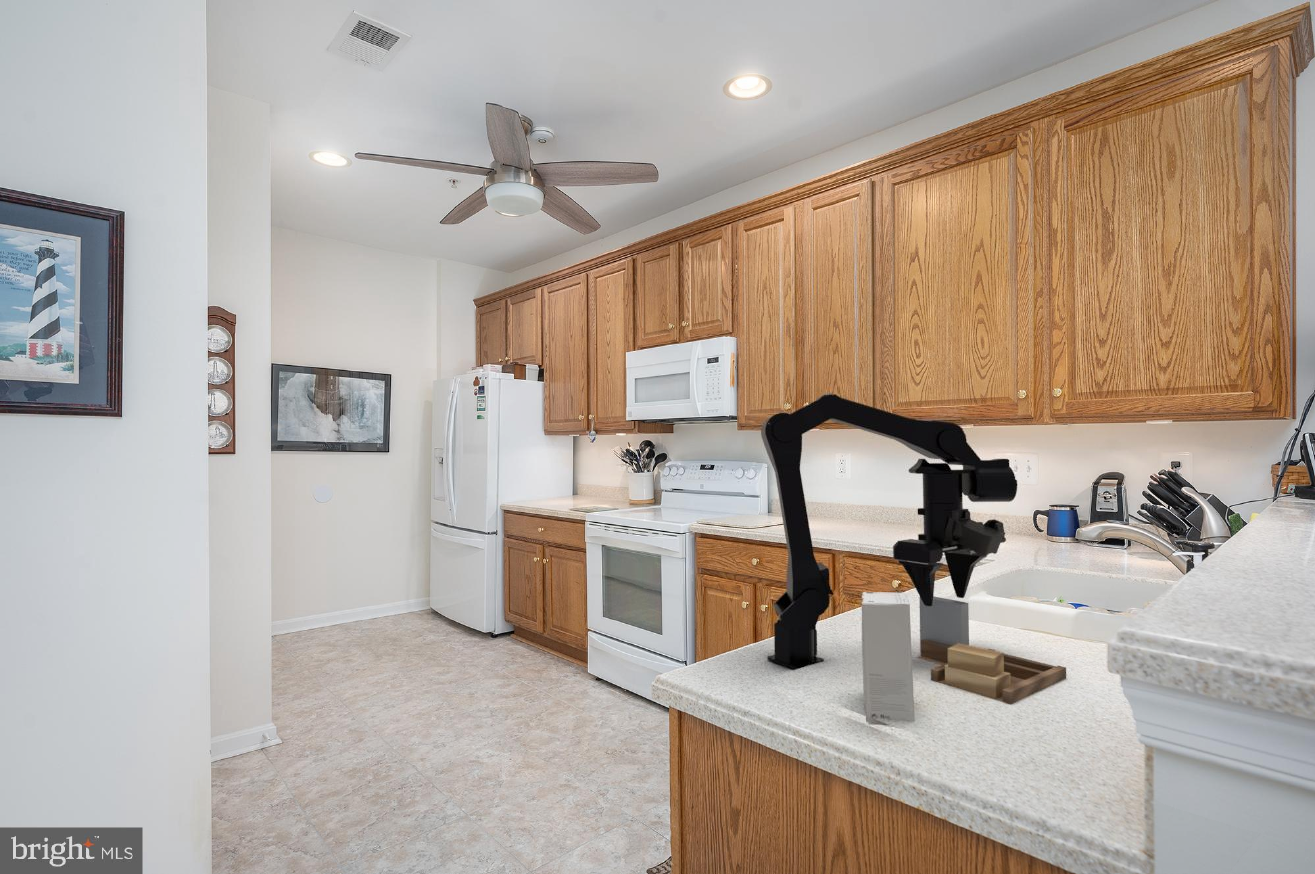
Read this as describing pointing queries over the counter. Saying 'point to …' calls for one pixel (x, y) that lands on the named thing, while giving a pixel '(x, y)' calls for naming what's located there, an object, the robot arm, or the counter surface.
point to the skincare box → (887, 657)
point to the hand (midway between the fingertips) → (944, 601)
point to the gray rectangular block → (944, 622)
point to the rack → (1018, 677)
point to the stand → (934, 652)
